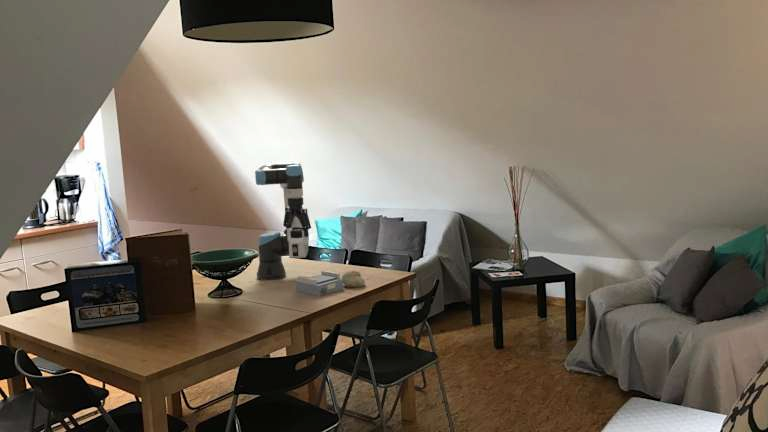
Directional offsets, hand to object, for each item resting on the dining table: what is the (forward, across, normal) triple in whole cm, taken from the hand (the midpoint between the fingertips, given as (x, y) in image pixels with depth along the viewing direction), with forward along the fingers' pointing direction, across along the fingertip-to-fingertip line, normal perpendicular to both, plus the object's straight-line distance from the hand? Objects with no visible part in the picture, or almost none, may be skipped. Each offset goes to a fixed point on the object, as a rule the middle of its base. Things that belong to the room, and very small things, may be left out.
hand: (297, 242), depth 328 cm
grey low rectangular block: (+22, +14, 0) cm, 26 cm away
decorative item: (+22, +22, +15) cm, 34 cm away
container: (+7, 0, 0) cm, 7 cm away
